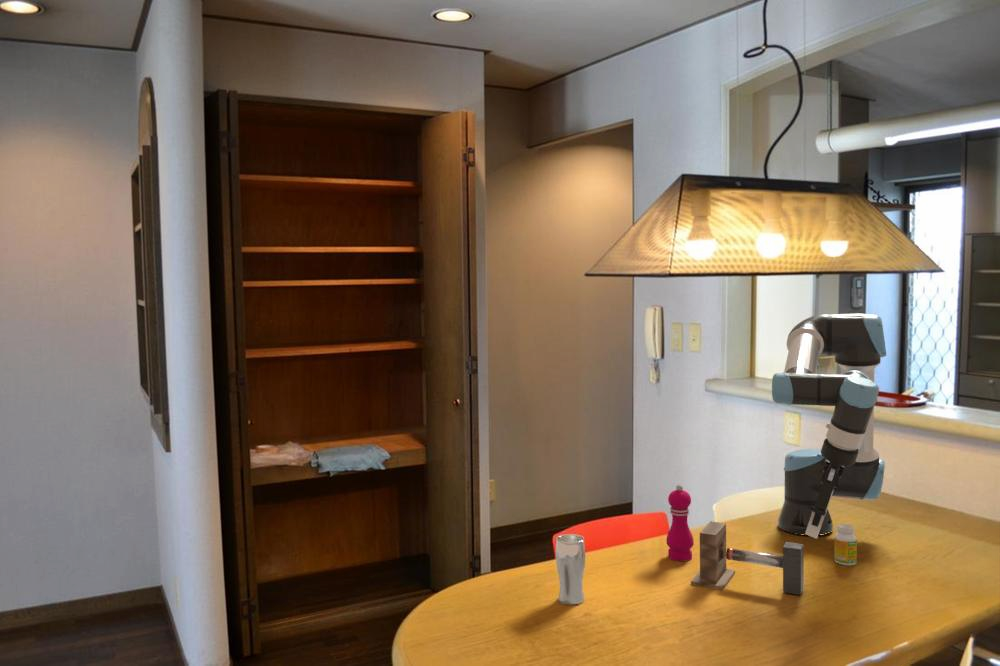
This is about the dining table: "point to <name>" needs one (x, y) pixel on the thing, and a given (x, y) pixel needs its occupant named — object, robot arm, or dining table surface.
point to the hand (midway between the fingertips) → (815, 523)
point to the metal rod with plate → (778, 564)
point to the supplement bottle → (845, 545)
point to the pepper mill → (679, 526)
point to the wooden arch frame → (713, 558)
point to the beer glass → (570, 567)
